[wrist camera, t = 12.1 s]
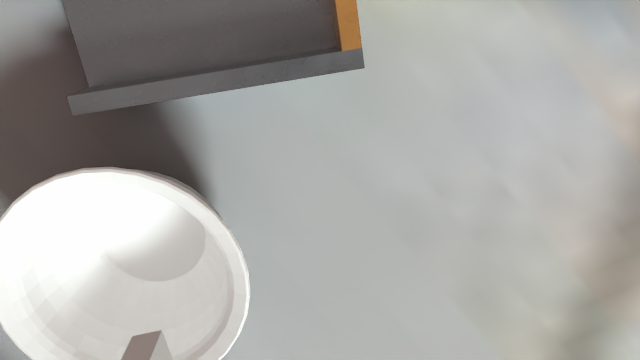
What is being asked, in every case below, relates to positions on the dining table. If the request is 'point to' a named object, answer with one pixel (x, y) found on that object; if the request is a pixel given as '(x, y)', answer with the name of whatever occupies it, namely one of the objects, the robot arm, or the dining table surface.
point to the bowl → (119, 268)
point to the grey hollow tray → (205, 46)
